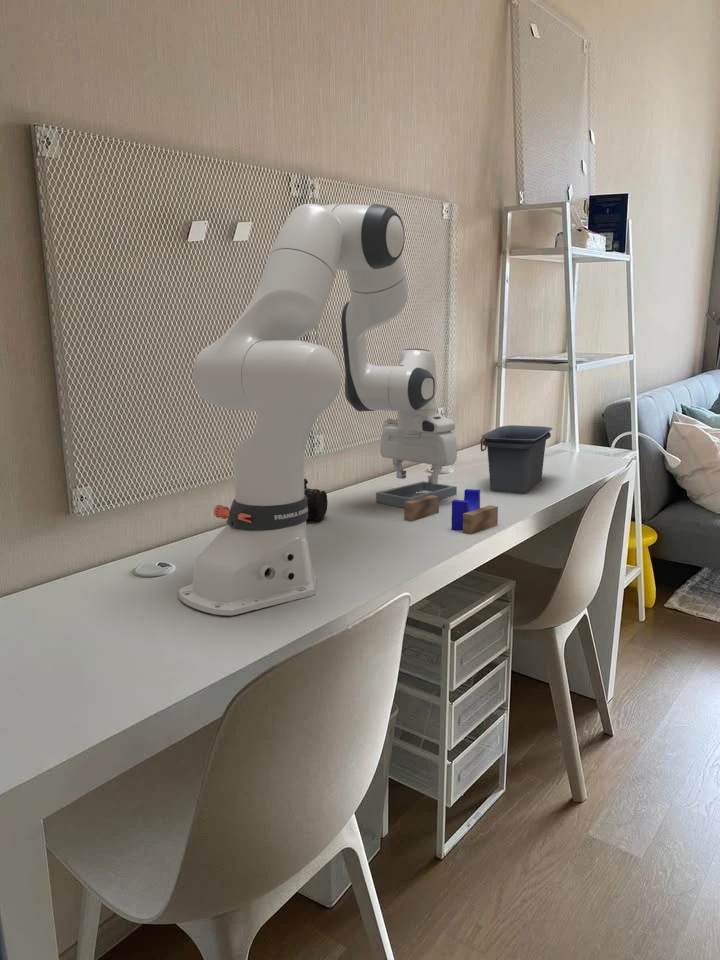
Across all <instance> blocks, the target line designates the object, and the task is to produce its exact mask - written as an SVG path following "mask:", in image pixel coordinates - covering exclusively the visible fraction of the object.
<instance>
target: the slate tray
mask: <svg viewBox="0 0 720 960" xmlns="http://www.w3.org/2000/svg"><path fill="white" fill-rule="evenodd" d="M457 488H458V487H457V486H456V485H450V484H449V485H448V484H444V483H442V484H441V483H439V482H438V483H437V484H430V483H428V481H424V480H422V481H418V482H415V483H414V482H413V483H411V484H406V485H402V486H399V487H394V488H389V489H386V490H382V491H378V492H375V503H376V504H377V503H378V504H380V505H381V504H382V505H386V506H390V507H396V508H401V509H404V502H407V501H410V500H414V499H418V498H422V497H425V496H429V495H435V496H439V501H443V500H444V499H445V500H446V499H448V498H451V496H452V497H455V496H457V491H458V490H457ZM423 491H426V492H423ZM416 492H418V493H416ZM419 492H420V493H419ZM454 495H455V496H454Z"/></svg>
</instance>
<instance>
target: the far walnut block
mask: <svg viewBox="0 0 720 960" xmlns="http://www.w3.org/2000/svg"><path fill="white" fill-rule="evenodd" d="M403 509H404V511H403V512H404V514H403V515H404V517H403V518H404V521H407V520H408V521H407V522H411V521H412V522H415V521H418V520H421V519H424V518H427V517H429V516H433V515H436V514H439V511H440V500H439V496H435V495H429V496H425V497H422V498H418V499H414V500H410V501H407V502H404V508H403Z"/></svg>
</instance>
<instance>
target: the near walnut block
mask: <svg viewBox="0 0 720 960" xmlns="http://www.w3.org/2000/svg"><path fill="white" fill-rule="evenodd" d="M498 513H499V506H495V505H491V504H490V505H486V506H482V507H480V508H479V509H476V510H473V511H470V512H467V513H463V531H462V534H467V535H474V534H476V533H479V532H483V531H485V530H488V529H491V528H494V527H496V526H498V523H499V521H498V520H499V519H498V518H499V514H498Z"/></svg>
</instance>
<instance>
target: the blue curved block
mask: <svg viewBox="0 0 720 960" xmlns="http://www.w3.org/2000/svg"><path fill="white" fill-rule="evenodd" d="M463 493H464V494H463V496H464V497H463V499H462V500H460V499H453V500H452V501H451V531H458V532H463V513H467V512H470V511H473V510H476V509H479V508H481V489H473V488H471V489H470V488H466V489H465V490H464V492H463Z"/></svg>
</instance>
